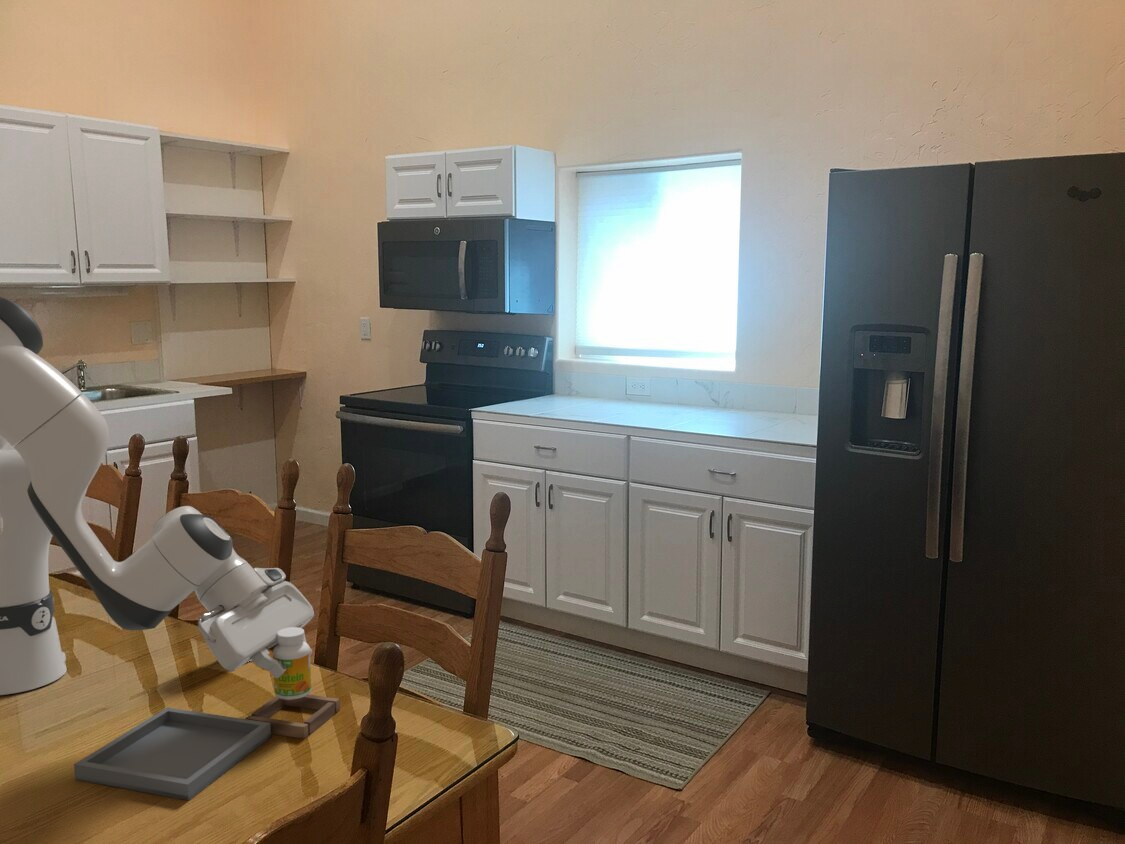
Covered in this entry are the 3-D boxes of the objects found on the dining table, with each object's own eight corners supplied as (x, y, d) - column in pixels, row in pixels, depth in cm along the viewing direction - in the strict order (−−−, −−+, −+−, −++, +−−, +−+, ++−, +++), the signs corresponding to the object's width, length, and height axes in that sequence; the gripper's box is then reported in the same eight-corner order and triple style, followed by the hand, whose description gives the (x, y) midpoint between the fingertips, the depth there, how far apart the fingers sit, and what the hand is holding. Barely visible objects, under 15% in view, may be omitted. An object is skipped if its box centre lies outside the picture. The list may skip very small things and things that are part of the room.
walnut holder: (245, 729, 139) (245, 718, 139) (284, 701, 149) (283, 691, 149) (304, 738, 136) (304, 727, 136) (339, 709, 146) (339, 698, 146)
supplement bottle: (274, 702, 139) (271, 640, 138) (275, 687, 144) (272, 627, 143) (311, 698, 141) (309, 636, 139) (311, 683, 146) (309, 623, 144)
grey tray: (75, 779, 125) (74, 764, 125) (167, 721, 142) (167, 707, 142) (188, 800, 120) (187, 784, 120) (270, 737, 137) (270, 723, 137)
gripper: (204, 606, 132) (267, 680, 131) (286, 565, 152) (342, 629, 150) (179, 633, 134) (241, 706, 133) (263, 589, 153) (318, 652, 152)
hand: (295, 665), depth 142 cm, fingers closed on supplement bottle, 5 cm apart
